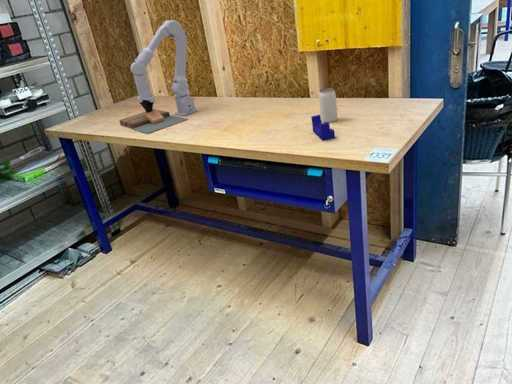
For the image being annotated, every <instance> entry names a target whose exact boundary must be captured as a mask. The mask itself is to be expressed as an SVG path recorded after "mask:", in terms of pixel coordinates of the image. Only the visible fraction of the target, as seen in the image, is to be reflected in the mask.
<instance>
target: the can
mask: <svg viewBox="0 0 512 384" xmlns="http://www.w3.org/2000/svg"><path fill="white" fill-rule="evenodd" d="M336 94H337V93H336V91H335V88H333V87H330V88H329V87H327V88H322V89H320V90H319V93H318V102H319V111H320V112H319V113H320V114H319V115H320V117H321V122H322V123H326V122H329V124H330V123H333V122H336V121H338V106H337V104H338V103H337V95H336Z"/></svg>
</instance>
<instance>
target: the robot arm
mask: <svg viewBox="0 0 512 384" xmlns="http://www.w3.org/2000/svg"><path fill="white" fill-rule="evenodd" d="M167 37H171V38H172V39H173V40H174V41H175V62H174V64H175V66H174V69H175V70H174V77H173V82H172V84H171V91H172V93H174V101H175V105H176V108H177V109H176V110H177V112H175V113H174V114H175V115H180V116H188V115H190V114H194V113H195V112H198V110H197V109H196V107H195V102H194V99H193V97H191V95H190V96H189V94H188V89H189V85H188V86H187V84H188V81H187V78H186V70H187V69H186V68H187V50H188V49H187V48H188V45H187V44H188V39H187V36H186V33H185V32H184V29H183V26H182V25H181V23H179V22H178V21H177V20H174V19H171V20H169V19H168V20H165V21H164V22H163V23H162V25H160V26H159V27H158V29H157V30H156V32H155V33H154V36H153V38H152V39H151V40H150V42H149V43H148V46H147V47H143V48H142V49H140V50H139V54H138V56H137V58H134V62H132V63H131V65H130V72H131V73H132V74H133V79H134V84H135V86H136V91H137V93H138V95H137V96H136V97H137V98H136V99H137V101H140V102H139V105H141V106H142V108H143V109H144V112H146V113H148V112H151V111H153V109H154V107H153V106H154V102H156V99H155V97H154V96H153V95H152V94H151V90H150V86H149V82H148V78H147V76H146V68H147V67H148V66H149V64H150V63H151V61H152V60H153V58H154V51H155V50H156V49H157V47H158V46H159V45H160V44H161V42H162V41H163V40H164V39H165V38H167Z"/></svg>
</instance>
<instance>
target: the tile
mask: <svg viewBox="0 0 512 384" xmlns="http://www.w3.org/2000/svg"><path fill="white" fill-rule="evenodd" d="M157 110H158V109H156V110H154V111H151V112H148V113H145V116H146V118H147V119H148V120H149V121H150V122H151V123H152V124H155V123H158V122H161V121H164V117H163V116H162V115H161V114H160V113H159V112H158V111H157Z"/></svg>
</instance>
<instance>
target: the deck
mask: <svg viewBox="0 0 512 384" xmlns="http://www.w3.org/2000/svg"><path fill="white" fill-rule="evenodd" d="M154 110H157V111H158V112H159V113H160V114H161V115H162V116H163V117H164V118H166V117H169V116H171V115H170V111H166V110H160V109H155V108H153V111H154ZM145 113H146V111H144V112H140V113H137V114H133V115H132V116H128V117H126V118H125V117H124V118H123V119H122V118H121V119H119V125H120V126H123V127H126V128H129V129H132V130H133V129H134V128H137V127H139V126H142V125H145V124H148V123H151V122H150V121H149V120H148V119H147V118H146V116H145Z"/></svg>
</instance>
